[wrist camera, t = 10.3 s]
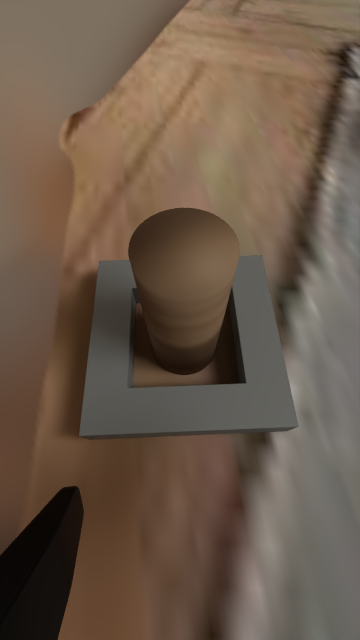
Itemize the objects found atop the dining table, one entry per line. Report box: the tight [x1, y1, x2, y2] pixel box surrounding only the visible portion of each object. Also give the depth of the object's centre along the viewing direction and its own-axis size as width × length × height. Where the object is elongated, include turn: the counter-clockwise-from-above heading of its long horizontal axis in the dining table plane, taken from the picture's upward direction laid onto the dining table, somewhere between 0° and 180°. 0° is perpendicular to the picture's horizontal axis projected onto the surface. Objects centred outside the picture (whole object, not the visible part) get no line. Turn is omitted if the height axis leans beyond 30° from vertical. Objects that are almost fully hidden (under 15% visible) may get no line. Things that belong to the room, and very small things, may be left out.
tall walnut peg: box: [128, 208, 240, 375], centre depth 16 cm, size 4×4×10 cm
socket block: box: [79, 255, 299, 439], centre depth 19 cm, size 12×12×2 cm
